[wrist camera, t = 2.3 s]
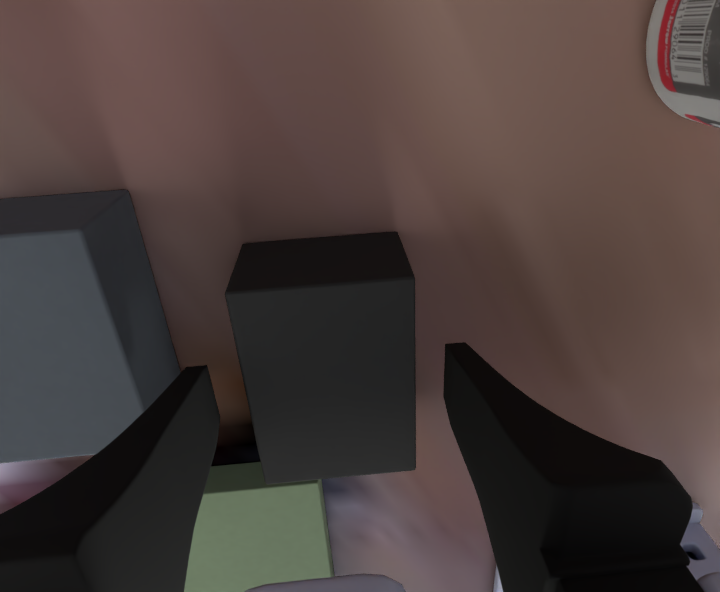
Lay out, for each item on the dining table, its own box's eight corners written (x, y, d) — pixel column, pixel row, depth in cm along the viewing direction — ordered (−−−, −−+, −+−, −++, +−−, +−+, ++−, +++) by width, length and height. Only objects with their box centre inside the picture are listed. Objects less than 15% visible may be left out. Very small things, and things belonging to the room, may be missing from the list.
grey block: (129, 188, 15) (80, 228, 12) (184, 381, 18) (157, 449, 15) (-43, 201, 15) (-138, 245, 12) (45, 393, 18) (-10, 465, 15)
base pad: (318, 455, 20) (318, 483, 19) (337, 597, 25) (338, 626, 24) (72, 478, 20) (55, 508, 19) (138, 618, 25) (129, 648, 24)
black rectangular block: (397, 230, 16) (415, 276, 13) (401, 403, 19) (416, 471, 16) (241, 242, 16) (223, 292, 13) (273, 414, 19) (265, 485, 16)
